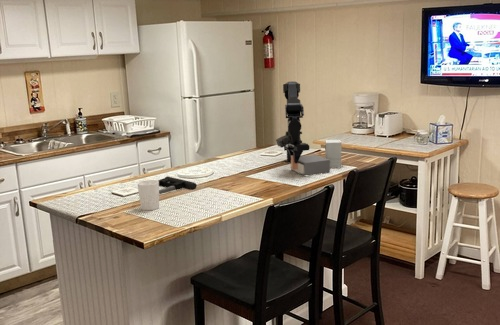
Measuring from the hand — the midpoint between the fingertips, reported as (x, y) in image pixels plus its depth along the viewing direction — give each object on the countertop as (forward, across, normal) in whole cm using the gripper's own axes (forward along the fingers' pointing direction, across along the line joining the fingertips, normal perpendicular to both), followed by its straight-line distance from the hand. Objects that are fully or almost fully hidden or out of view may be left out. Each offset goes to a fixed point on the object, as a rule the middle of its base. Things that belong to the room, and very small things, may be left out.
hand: (294, 162), depth 242 cm
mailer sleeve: (+5, 0, +8) cm, 10 cm away
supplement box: (+5, -3, +23) cm, 24 cm away
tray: (+4, 0, +6) cm, 8 cm away
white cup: (+5, +21, -72) cm, 75 cm away
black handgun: (+6, -3, -59) cm, 59 cm away
